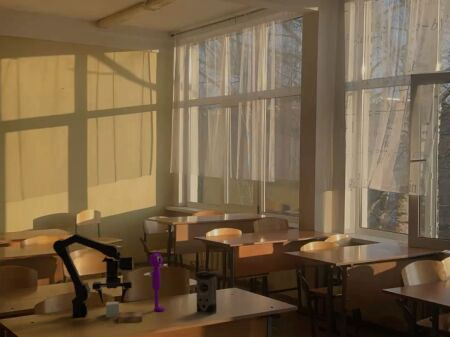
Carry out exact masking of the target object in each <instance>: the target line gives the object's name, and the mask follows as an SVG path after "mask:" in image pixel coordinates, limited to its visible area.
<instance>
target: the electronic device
mask: <svg viewBox="0 0 450 337" xmlns="http://www.w3.org/2000/svg"><path fill="white" fill-rule="evenodd" d="M195 277H196V313H197V314H204V315H214V314H216V313H217V312H218V310H217V309H218V308H217V272H215V271H207V270H206V271H205V270H201V271H200V270H199V271H197V272H196V276H195Z"/></svg>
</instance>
